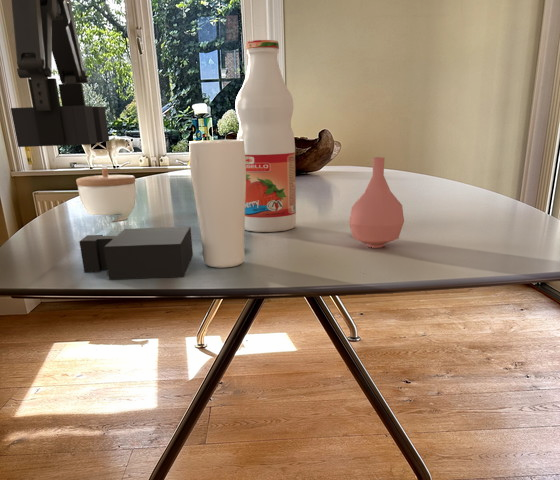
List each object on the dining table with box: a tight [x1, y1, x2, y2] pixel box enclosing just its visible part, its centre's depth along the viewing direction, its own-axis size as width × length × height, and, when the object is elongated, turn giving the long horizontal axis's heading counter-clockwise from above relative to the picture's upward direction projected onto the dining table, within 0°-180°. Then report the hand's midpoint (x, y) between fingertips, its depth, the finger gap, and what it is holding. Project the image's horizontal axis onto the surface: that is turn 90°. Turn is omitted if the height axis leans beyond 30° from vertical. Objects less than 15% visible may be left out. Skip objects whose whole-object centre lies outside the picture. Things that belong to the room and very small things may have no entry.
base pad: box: [78, 226, 194, 281], centre depth 77 cm, size 13×12×4 cm
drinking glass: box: [188, 139, 246, 269], centre depth 75 cm, size 7×7×15 cm
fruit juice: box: [235, 39, 297, 233], centre depth 96 cm, size 9×9×28 cm
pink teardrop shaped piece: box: [348, 156, 405, 249], centre depth 83 cm, size 8×8×12 cm
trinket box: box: [75, 167, 137, 223], centre depth 113 cm, size 11×11×9 cm
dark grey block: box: [10, 105, 110, 148], centre depth 70 cm, size 8×10×4 cm
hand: (67, 142), depth 71 cm, fingers closed on dark grey block, 10 cm apart
